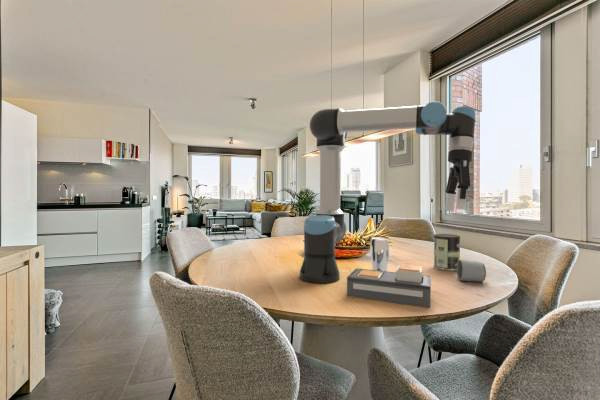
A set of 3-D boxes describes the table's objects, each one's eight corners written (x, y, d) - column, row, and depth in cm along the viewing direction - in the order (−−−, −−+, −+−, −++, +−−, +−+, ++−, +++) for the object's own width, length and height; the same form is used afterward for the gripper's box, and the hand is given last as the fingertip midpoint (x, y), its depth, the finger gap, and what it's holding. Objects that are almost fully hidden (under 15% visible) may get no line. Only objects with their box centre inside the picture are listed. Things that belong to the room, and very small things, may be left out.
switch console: (346, 296, 95) (346, 277, 95) (355, 285, 107) (356, 268, 106) (430, 307, 86) (430, 286, 86) (430, 294, 97) (430, 275, 97)
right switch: (396, 280, 92) (396, 268, 92) (398, 274, 98) (398, 263, 98) (421, 283, 89) (421, 271, 89) (422, 277, 96) (422, 265, 95)
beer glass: (385, 281, 111) (386, 240, 111) (367, 278, 115) (367, 239, 115) (391, 277, 117) (391, 238, 117) (373, 274, 121) (373, 236, 121)
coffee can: (459, 266, 135) (459, 234, 134) (460, 271, 125) (460, 237, 125) (433, 264, 139) (434, 233, 139) (433, 269, 130) (433, 236, 129)
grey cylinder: (487, 284, 108) (487, 262, 108) (462, 283, 110) (462, 261, 110) (476, 277, 118) (476, 257, 118) (453, 275, 120) (454, 256, 120)
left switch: (356, 285, 97) (356, 274, 97) (361, 279, 103) (361, 269, 103) (379, 288, 94) (379, 276, 94) (382, 282, 100) (382, 271, 100)
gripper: (485, 142, 95) (479, 209, 94) (461, 159, 120) (455, 213, 118) (459, 140, 97) (453, 206, 96) (440, 157, 121) (435, 210, 120)
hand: (454, 210), depth 107 cm, fingers open, 13 cm apart
